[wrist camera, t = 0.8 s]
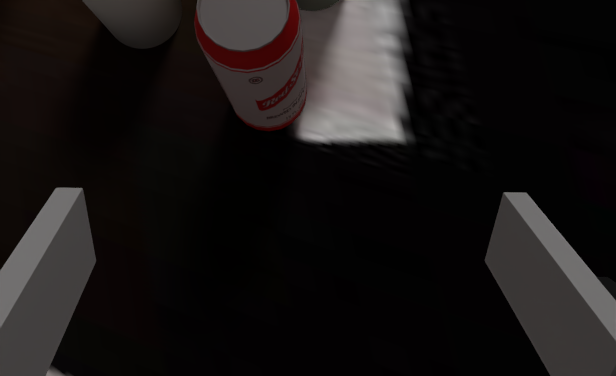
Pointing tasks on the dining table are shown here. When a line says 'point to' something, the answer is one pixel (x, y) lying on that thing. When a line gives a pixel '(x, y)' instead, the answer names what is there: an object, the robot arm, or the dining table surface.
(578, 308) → the robot arm
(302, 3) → the sage tin
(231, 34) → the beer can
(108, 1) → the off-white tin
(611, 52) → the dining table surface
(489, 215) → the dining table surface
